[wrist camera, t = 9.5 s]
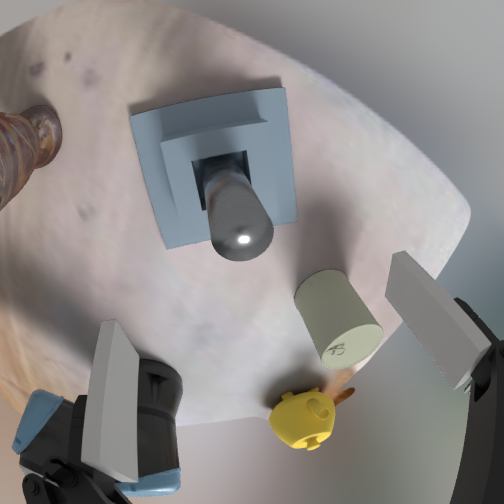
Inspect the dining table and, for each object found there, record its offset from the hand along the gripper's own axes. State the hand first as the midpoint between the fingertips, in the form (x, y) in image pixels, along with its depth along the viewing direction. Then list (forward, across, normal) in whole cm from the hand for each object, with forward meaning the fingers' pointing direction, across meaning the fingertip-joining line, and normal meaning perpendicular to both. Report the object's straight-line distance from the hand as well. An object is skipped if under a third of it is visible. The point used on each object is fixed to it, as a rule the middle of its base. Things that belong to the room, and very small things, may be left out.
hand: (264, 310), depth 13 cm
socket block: (+22, 0, 0) cm, 22 cm away
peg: (+21, 0, 0) cm, 21 cm away
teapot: (+22, +8, -54) cm, 59 cm away
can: (+22, +12, -22) cm, 33 cm away
